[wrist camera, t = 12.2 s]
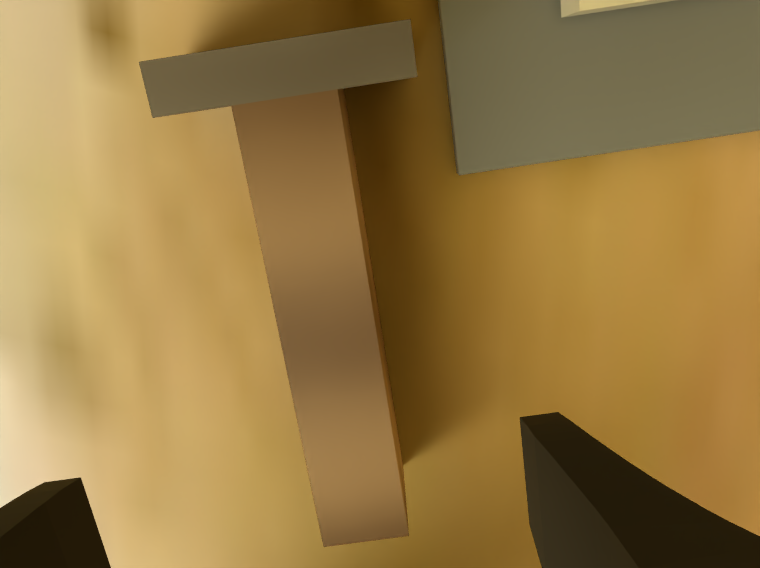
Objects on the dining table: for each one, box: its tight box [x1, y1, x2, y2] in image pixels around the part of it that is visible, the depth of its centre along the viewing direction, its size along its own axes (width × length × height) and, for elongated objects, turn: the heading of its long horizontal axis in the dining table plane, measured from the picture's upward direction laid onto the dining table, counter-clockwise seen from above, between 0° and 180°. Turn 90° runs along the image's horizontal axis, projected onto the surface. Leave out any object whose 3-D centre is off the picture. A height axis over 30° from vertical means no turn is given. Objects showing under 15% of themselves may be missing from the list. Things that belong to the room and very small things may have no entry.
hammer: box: [139, 19, 417, 547], centre depth 18 cm, size 13×6×4 cm, turn 8°
